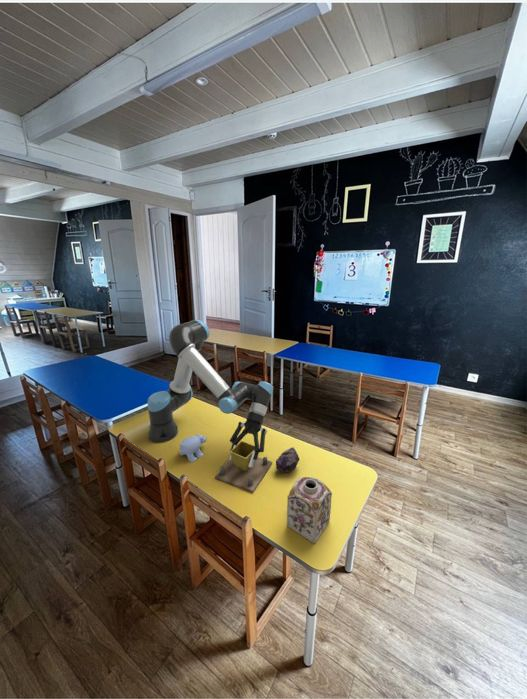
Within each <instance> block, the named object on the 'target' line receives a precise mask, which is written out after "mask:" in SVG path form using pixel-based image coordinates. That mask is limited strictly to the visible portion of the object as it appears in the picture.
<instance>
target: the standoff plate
mask: <svg viewBox="0 0 527 699" xmlns="http://www.w3.org/2000/svg"><path fill="white" fill-rule="evenodd" d="M272 465H273V461H272V460H268V457H267V456H263V457H259V456H258V457H257V460H254V463H253V467H249V468H248V469H247V470H246V471H244V470H242V469H240V468H238V467H237V466H236V465H235V464H234V463H233V461H232V460H229V459H228V460H227V462H225V464H224V465H223V466H221V467H219V470H218V471H217V473H216V474H215V475H214V478H215V479H216V480H218V481H222V482H224V483H227V484H229V485H232V486H235V487H236V488H239V489H242V490H244V491H247V492H249V493H252V494H254V493H255V491H256V490H257V488H258V486H259V485H260V483H261V482H262V481H263V479H264V477H265V476H266V475H267V473H268V471H269V470H270V468H271V467H272Z"/></svg>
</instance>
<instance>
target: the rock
mask: <svg viewBox="0 0 527 699" xmlns="http://www.w3.org/2000/svg"><path fill="white" fill-rule="evenodd" d="M299 461H300V456H299V455H298V452H297V450H296V449H295V447H289V449H286V450H284V451H283V452H282V453H281V454H280V456H278V458H277V459H276V461H275V469H276V470H277V472H278V473H280V474H286V473H287V472H289V473H291V472H293V471H294V470H295V469H296V467H297V466H298V464H299Z"/></svg>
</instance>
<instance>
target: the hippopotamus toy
mask: <svg viewBox="0 0 527 699" xmlns="http://www.w3.org/2000/svg"><path fill="white" fill-rule="evenodd" d="M206 442H207V437H205V435H202V434H195V435H192V436H187V437H186V438H184V439H183V440H182V441H181V443H179V450H180V451H179V455H180V456H185V455H186V457H187V459H188V462H189V463H194V462H196V460H198V458H200V459H201V457H203V456H204V453H203V452H202V451H201V449H200V448H201V445H202V444H204V443H206Z"/></svg>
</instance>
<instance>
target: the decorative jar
mask: <svg viewBox="0 0 527 699" xmlns="http://www.w3.org/2000/svg"><path fill="white" fill-rule="evenodd" d="M332 494H333V492H332V491H331V489H330V488H328V486H327V485H326V483H324V482H323V480H319V478H317V477H316V478H315V477H313V476H305V477H299V478H298V479H297V480H296V481H295V482H294V484H293V485H292V487H291V489H290V490H289V493H288V495H287V500H286V501H287V506H286V526H287V527H288V528H290V529H291V530H293V531H294V532H295V533H297V534H298V535H300V536H301V537H303V538H305V539H306V540H308V541H309V542H310V543H312V544H314V543H315V544H316V543H317V541H318V539H320V536H321V535H322V533H323V532H324V530H325V528H326V527H327V525H329V522H330V519H331V508H332Z"/></svg>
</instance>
